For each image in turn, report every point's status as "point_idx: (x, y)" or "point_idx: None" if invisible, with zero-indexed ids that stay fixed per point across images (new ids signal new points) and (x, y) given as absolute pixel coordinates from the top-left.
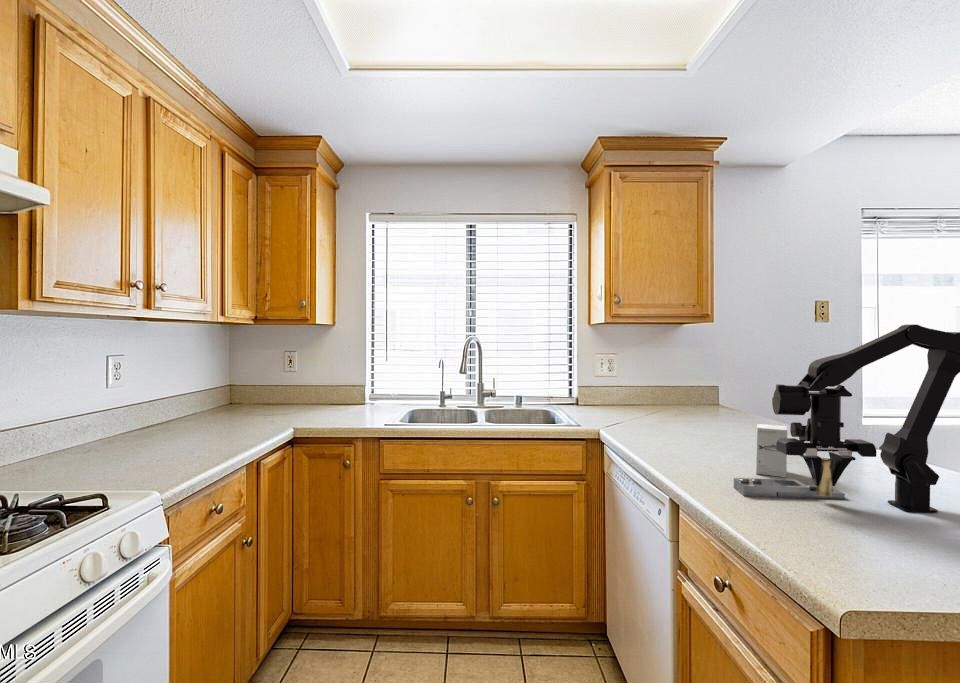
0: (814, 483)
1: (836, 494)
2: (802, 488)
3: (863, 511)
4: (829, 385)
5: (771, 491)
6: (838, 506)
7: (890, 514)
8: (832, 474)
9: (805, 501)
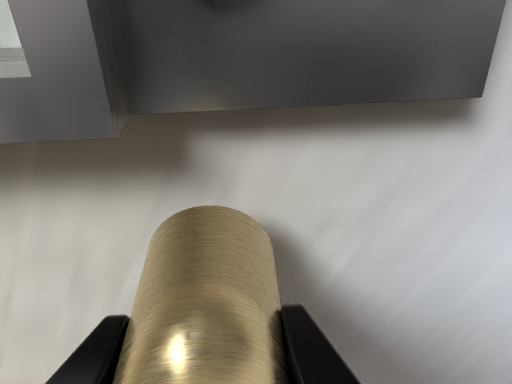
0: (100, 329)
1: (396, 99)
2: (31, 138)
3: (380, 332)
4: None
5: None
6: (280, 271)
7: (496, 352)
8: None
9: (75, 197)
